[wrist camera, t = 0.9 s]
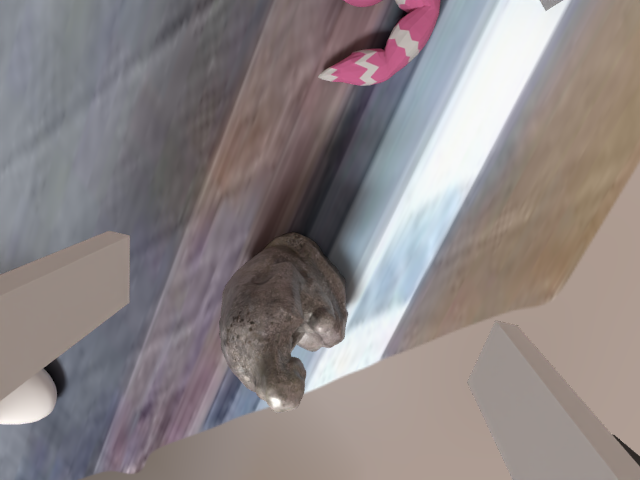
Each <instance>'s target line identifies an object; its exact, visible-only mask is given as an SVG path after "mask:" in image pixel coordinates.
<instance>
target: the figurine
mask: <svg viewBox="0 0 640 480" xmlns="http://www.w3.org/2000/svg"><path fill="white" fill-rule="evenodd" d="M345 283H346V281H345V279H344V277H343V276H342V275H341V274H340V272H339V271H338V269H337V268H336V267H335V266H334V265H333V264H332V263H331V262H330V261H329V260H328V259H327V257H326V256H325V255H324V254H323V252H322V251H321V250H320V248H319V246H318V245H317V244H316V242H314V241H313V240H311V239H310V238H308V237H306V236H303V235H300V234H298V233H296V232H291V233H288V234H283V235H282V236H280V237H276V238H275V239H273V240H272V242H270V243H269V244H268V245H267V246H266V247H265V248H264V249H263V251H261V252H260V253H259V254H257V255H256V256H254V257H253V258H252V259H250V260H249V261H247V262H246V263H245V264H244V265H243V266H242V267H241V268H240V269H239V270H237V272H236V273H235V274H234V275H233V276H232V277H231V279H230V280H229V282H228V283H227V284H226V286H225V288H224V291H223V294H222V307H221V318H220V321H219V328H220V333H219V335H220V338H221V348H222V351H223V354H224V357H225V359H226V361H227V364H228V366H229V367H230V369H231V370H232V372H233V373H234V374H235V375H236V376H237V377H238V378H239V379H240V381H241V382H242V383H243V384H244V385H245V386H246V387H247V388H248V389H250V390H251V391H253V392H256V393H257V395H258V397H259V398H260V399H262V400H265V401H266V402H267V404H268V405H269V406H270V407H271V408H272V410H273V411H274V412H277V413H281V412H285V411H290V410H294V409H295V408H297V407H298V406H299V404H300V401H301V399H302V397H303V394H304V389H305V378H306V370H305V368H304V366H303V363H302V362H301V360H300V359H298V358H296V357H291V352H292V350H293V349H294V347H295V346H296V345H298V346H300V347H302V348H304V349H306V350H309V351H312V352H313V351H317V350H318V349H320V348H321V347H326V348H331V347H333V346H334V345H336V344H338V343H339V342H342V340H343V339H344V338H345V327H346V322H347V317H348V312H347V310H346V292H345Z"/></svg>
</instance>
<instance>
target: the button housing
mask: <svg viewBox="0 0 640 480" xmlns="http://www.w3.org/2000/svg"><path fill="white" fill-rule="evenodd" d="M540 1H541V3H542V5H543V7H544V8H545V10H548V9H550V8H551V7H553V6H554V5H556V4H558V3H559V2H561V1H563V0H540Z"/></svg>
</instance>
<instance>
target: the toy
mask: <svg viewBox="0 0 640 480" xmlns="http://www.w3.org/2000/svg"><path fill="white" fill-rule="evenodd" d="M343 1H345V2H347V3H348V4H351V5H353V6H358V7H367V6H372V5H375V4H377V3H379V2H381V1H382V0H343ZM395 1H396V3H397V4H398V6H399V8H401V9H402V10H404V11H405V12H407V13H409V14H407V15H406V16H404V17H403V18H402V19H401V20H400V21H399V22H398V23H397V24H396V26H395V27H394V28H393V30H392V32H391V34H390V36H389V38H388V40H387V42H386V46H385V49H384V50H382V49H364V50H360V51H356V52H352V53H351V55H350V56H348V57H347V58H345V59H343V60H342V61H340V62H338V63H337V64H335V65H333V66H331V67H329V68H328V69H326V70H325V71H323V72H322V73H321V74H320V75H319V76H318V77H319V78H321V79H323V80H327V81H333V82H345V83H349V84H354V85H359V86H362V85H373V84H377V83H381V82H384V81H386V80H388V79H389V78H390V77H391V76H393V75H394V74H395V73H396V72H398V71H399V70H400V69H402V68H403V67H405V66H406V65H407V64H408V63H409V62H410V61H411V60H412V59H413V58H414V57H415V56H416V55H418V53H419V52H420V51H421V50H422V48H423V47H424V46H425V44H426V43H427V41H428V39H429V38H430V36H431V34H432V31H433V29H434V26H435V24H436V21H437V18H438V15H439V8H440V1H441V0H395Z"/></svg>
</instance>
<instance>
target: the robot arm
mask: <svg viewBox="0 0 640 480" xmlns="http://www.w3.org/2000/svg"><path fill="white" fill-rule="evenodd" d="M129 271H130V236H129V235H124V234H120V233H116V232H112V231H108V232H105V233H103V234H100V235H98V236H95V237H93V238H90V239H88V240H85V241H83V242H80V243H78V244H75V245H73V246H70V247H68V248H65V249H63V250H60V251H58V252H56V253H53V254H51V255H48V256H46V257H43V258H41V259H38V260H36V261H33V262H31V263H28V264H26V265H23V266H21V267H18V268H16V269H13V270H11V271H8V272H6V273H4V274H1V275H0V401H1V400H2V399H4V398H5V397H6V396H8V395H9V394H10V393H12V392H13V391H14V390H15V389H17V388H18V387H19V386H21V385H22V384H23V383H25V382H26V381H27V380H29V379H30V378H31V377H32V376H34V375H35V374H36V373H38V372H39V371H40V370H42V369H43V368H44V367H46V366H47V365H48V364H49V363H51V362H52V361H53V360H55V359H56V358H57V357H59V356H60V355H61V354H63V353H64V352H65V351H66V350H68V349H69V348H70V347H72V346H73V345H74V344H76V343H77V342H78V341H80V340H81V339H82V338H84V337H85V336H86V335H87V334H89V333H90V332H91V331H93V330H94V329H95V328H97V327H98V326H99V325H101V324H102V323H103V322H104V321H106V320H107V319H108V318H110V317H111V316H112V315H114V314H115V313H116V312H118V311H119V310H120V309H121V308H123V307H124V306H125V305H127V304H128V303H129ZM467 383H468V385H469V387H470V389H471V391H472V394H473V396H474V398H475V400H476V402H477V404H478V406H479V409H480V411H481V413H482V415H483V417H484V419H485V421H486V424H487V426H488V428H489V430H490V432H491V434H492V436H493V438H494V441H495V443H496V445H497V447H498V449H499V451H500V454H501V456H502V458H503V460H504V462H505V464H506V466H507V469H508V471H509V473H510V475H511V477H512V479H513V480H640V456H639V455H637V454H636V453H635V452H634V451H633V450H631V449H630V448H629V447H628V446H627V445H626V444H624V443H623V442H622V441H621V440H620V439H618V438H617V437H616V436H615V435H612V434H611V433H610V432H609V431H608V429H607V428H606V427H605V426H604V425H603V424H602V422H601V421H600V420H599V419H598V418H597V417H596V416H595V414H594V413H593V412H592V411H591V410H590V409H589V408H588V407H587V405H586V404H585V403H584V402H583V401H582V399H581V398H580V397H579V396H578V395H577V394H576V392H575V391H574V390H573V389H572V388H571V387H570V385H569V384H568V383H567V382H566V381H565V380H564V379H563V377H562V376H561V375H560V374H559V373H558V372H557V371H556V369H555V368H554V367H553V366H552V365H551V364H550V363H549V361H548V360H547V359H546V358H545V357H544V355H543V354H542V353H541V352H540V351H539V350H538V348H537V347H536V346H535V345H534V344H533V343H532V342H531V340H530V339H529V338H528V337H527V336H526V335H525V334H524V332H523V331H522V330H521V329H520V328H519V327H518V325H514V324H509V323H505V322H501V321H495V323H494V325H493V327H492V329H491V331H490V334H489V336H488V338H487V340H486V342H485V345H484V347H483V349H482V351H481V353H480V355H479V358H478V360H477V362H476V364H475V366H474V368H473V371H472V373H471V375H470V377H469V379H468V382H467Z"/></svg>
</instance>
